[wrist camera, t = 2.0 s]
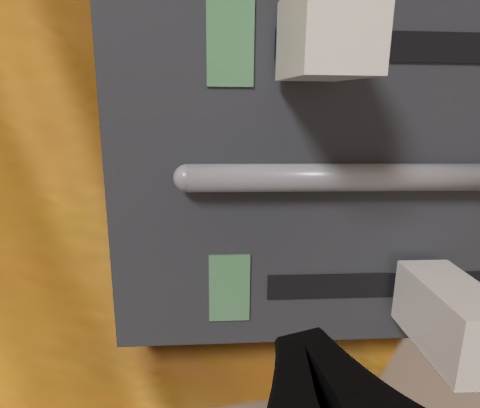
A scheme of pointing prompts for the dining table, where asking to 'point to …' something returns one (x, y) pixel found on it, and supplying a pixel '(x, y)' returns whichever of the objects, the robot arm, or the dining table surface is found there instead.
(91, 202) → the dining table surface
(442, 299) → the block
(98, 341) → the dining table surface
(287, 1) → the breaker
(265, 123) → the slider control panel
